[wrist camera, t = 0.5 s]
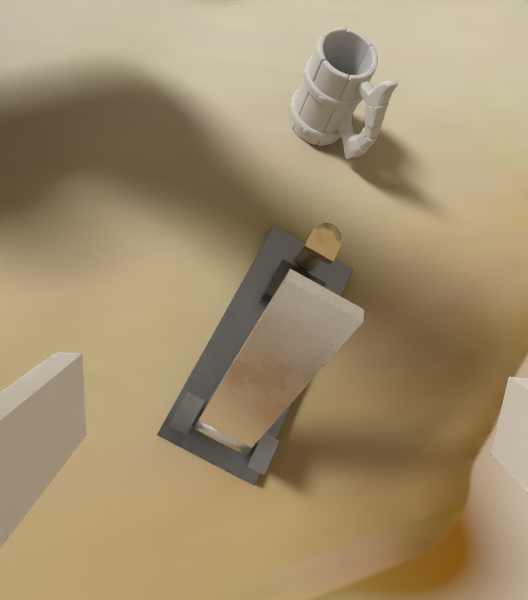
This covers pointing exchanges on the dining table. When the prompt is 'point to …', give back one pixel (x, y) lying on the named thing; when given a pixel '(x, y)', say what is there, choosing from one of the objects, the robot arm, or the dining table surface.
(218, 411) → the white flat bar
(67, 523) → the dining table surface
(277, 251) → the base
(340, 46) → the mug
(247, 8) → the dining table surface
